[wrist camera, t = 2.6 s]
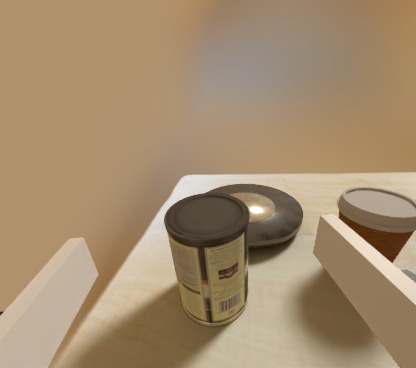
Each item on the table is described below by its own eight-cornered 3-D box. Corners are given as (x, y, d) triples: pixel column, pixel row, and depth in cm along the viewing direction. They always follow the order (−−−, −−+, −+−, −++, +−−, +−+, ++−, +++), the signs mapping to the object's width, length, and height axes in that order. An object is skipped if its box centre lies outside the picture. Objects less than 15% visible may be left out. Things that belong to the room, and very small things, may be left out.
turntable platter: (276, 185, 57) (277, 178, 56) (327, 240, 35) (329, 231, 34) (193, 193, 56) (193, 186, 55) (193, 254, 34) (191, 245, 34)
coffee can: (208, 255, 36) (201, 186, 31) (260, 283, 30) (264, 204, 25) (165, 298, 29) (146, 218, 24) (222, 346, 23) (215, 254, 17)
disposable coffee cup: (388, 304, 26) (421, 230, 21) (314, 262, 33) (327, 200, 28) (405, 265, 31) (435, 199, 26) (338, 237, 38) (352, 180, 33)
